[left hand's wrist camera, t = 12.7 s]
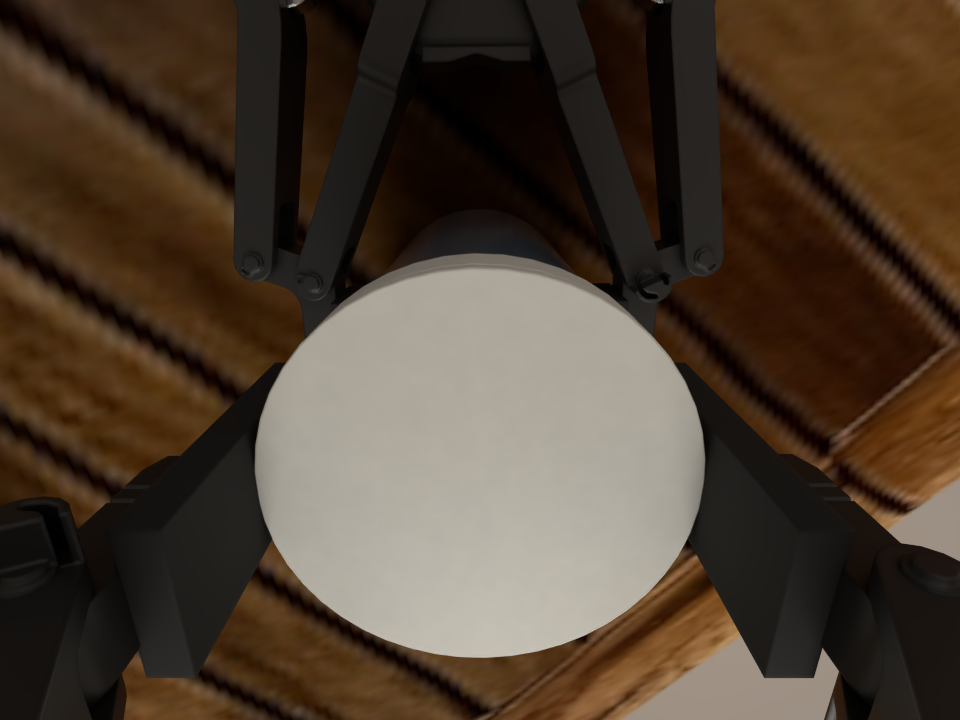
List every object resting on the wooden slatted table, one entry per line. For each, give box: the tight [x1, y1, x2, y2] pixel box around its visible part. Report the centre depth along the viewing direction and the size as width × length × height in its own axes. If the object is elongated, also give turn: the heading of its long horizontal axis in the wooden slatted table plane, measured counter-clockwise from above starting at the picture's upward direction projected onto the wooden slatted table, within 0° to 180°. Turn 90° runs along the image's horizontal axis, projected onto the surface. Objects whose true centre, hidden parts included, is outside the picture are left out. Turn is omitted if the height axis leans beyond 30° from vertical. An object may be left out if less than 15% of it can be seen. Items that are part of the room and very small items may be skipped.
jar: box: [381, 209, 578, 277], centre depth 18 cm, size 8×8×15 cm
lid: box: [255, 253, 705, 658], centre depth 11 cm, size 9×9×2 cm
